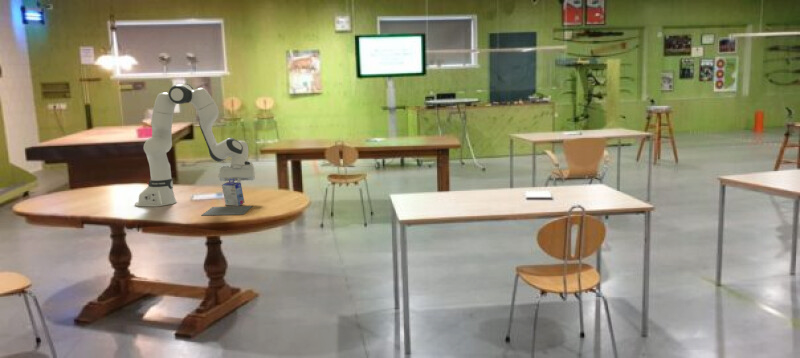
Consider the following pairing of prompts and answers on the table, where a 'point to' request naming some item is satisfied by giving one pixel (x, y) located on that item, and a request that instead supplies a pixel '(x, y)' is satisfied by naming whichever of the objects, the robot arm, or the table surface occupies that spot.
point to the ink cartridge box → (233, 193)
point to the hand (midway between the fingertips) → (235, 185)
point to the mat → (227, 210)
